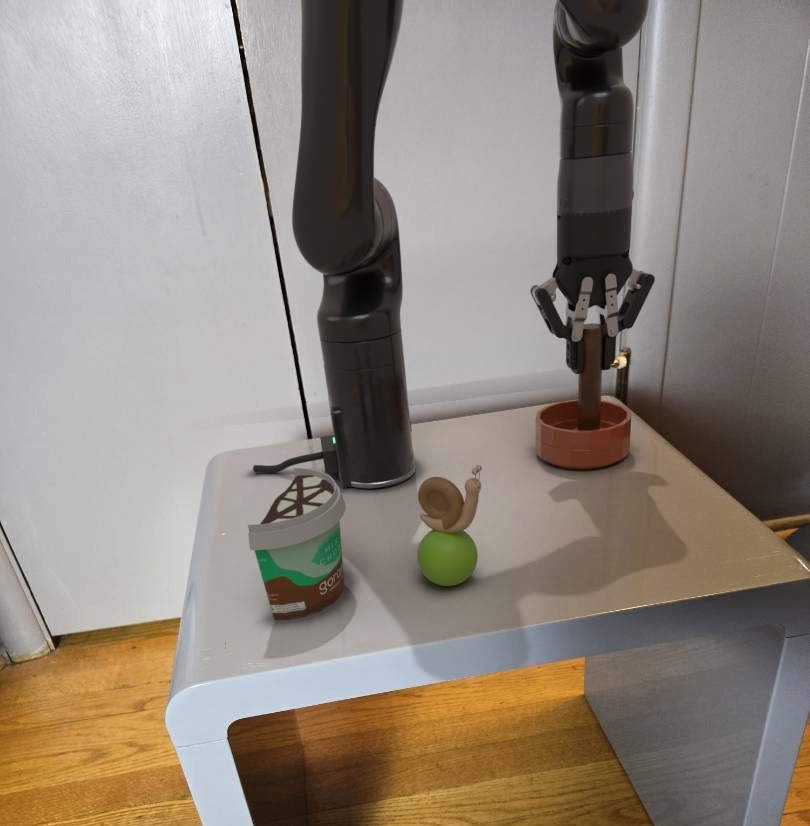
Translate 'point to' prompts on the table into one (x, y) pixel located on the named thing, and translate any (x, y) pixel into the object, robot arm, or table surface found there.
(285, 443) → the table surface
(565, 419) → the bowl
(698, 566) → the table surface
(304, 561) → the food container
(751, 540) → the table surface
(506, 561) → the table surface
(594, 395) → the muddler
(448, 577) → the snail figurine
